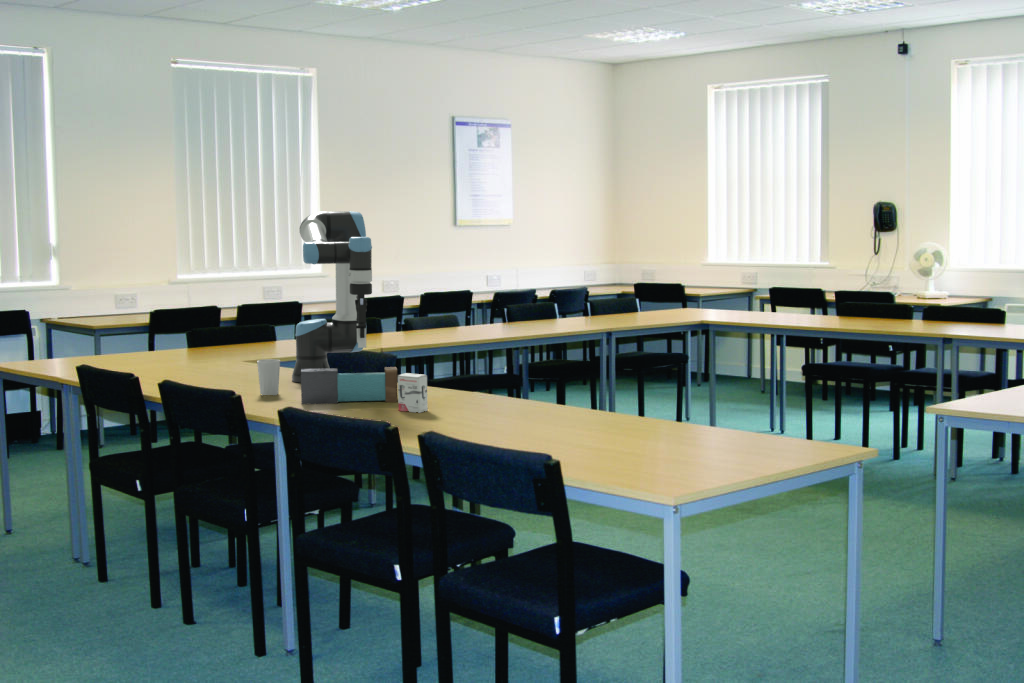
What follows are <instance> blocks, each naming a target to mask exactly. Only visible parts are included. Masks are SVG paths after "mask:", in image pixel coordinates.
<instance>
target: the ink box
mask: <svg viewBox="0 0 1024 683" xmlns="http://www.w3.org/2000/svg"><path fill="white" fill-rule="evenodd" d="M397 393H398V402H397V403H398V411H399V412H406V411H409V412H408V413H416V412H418V414H421V413H425V412H427V411H428V405H429V404H428V375H426V374H421V373H420V374H419V373H410V372H405V373H401V374H397ZM424 411H425V412H424Z"/></svg>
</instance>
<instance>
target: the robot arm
mask: <svg viewBox="0 0 1024 683" xmlns="http://www.w3.org/2000/svg"><path fill="white" fill-rule="evenodd" d="M299 235H300V237H301V239H302V240H303V244H302V259H303V260H302V261H303V262H304V264H307V265H325V264H327V265H328V264H331V265H333V264H334V265H335V314H334V315H333V316H332V318H331V322H328V321H327V319H326V318H316V319H308V320H304V321H299V323H297V324H296V326H295V334H294V335H295V348H296V349H295V354H296V355H295V358H296V360H295V365H294V368H293V369H292V370H293V371H292V374H291V381H292V382H294V383H300V384H301V369H325V368H330V365H329V362H328V354H329V353H356V352H362V350H364V348H367V327H368V326H367V316H366V315H367V309H368V308H367V307H368V299H366V298H365V296H369V295H372V294H373V284H372V283H371V282H373V268H372V256H373V255H372V249H373V245H372V238H371V237H369V236H367V232H366V224H365V220H364V217H363V214H362V213H361V212H360V211H353V210H351V211H350V210H346V211H341V210H340V211H339V210H338V211H337V210H335V211H333V210H332V211H331V210H330V211H326V210H325V211H324V210H323V211H322V210H321V211H318V212H314V213H312V214H309V215H308V216H306V217H305V218H304V219H303V220H302V222H301V223H300V226H299Z"/></svg>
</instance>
